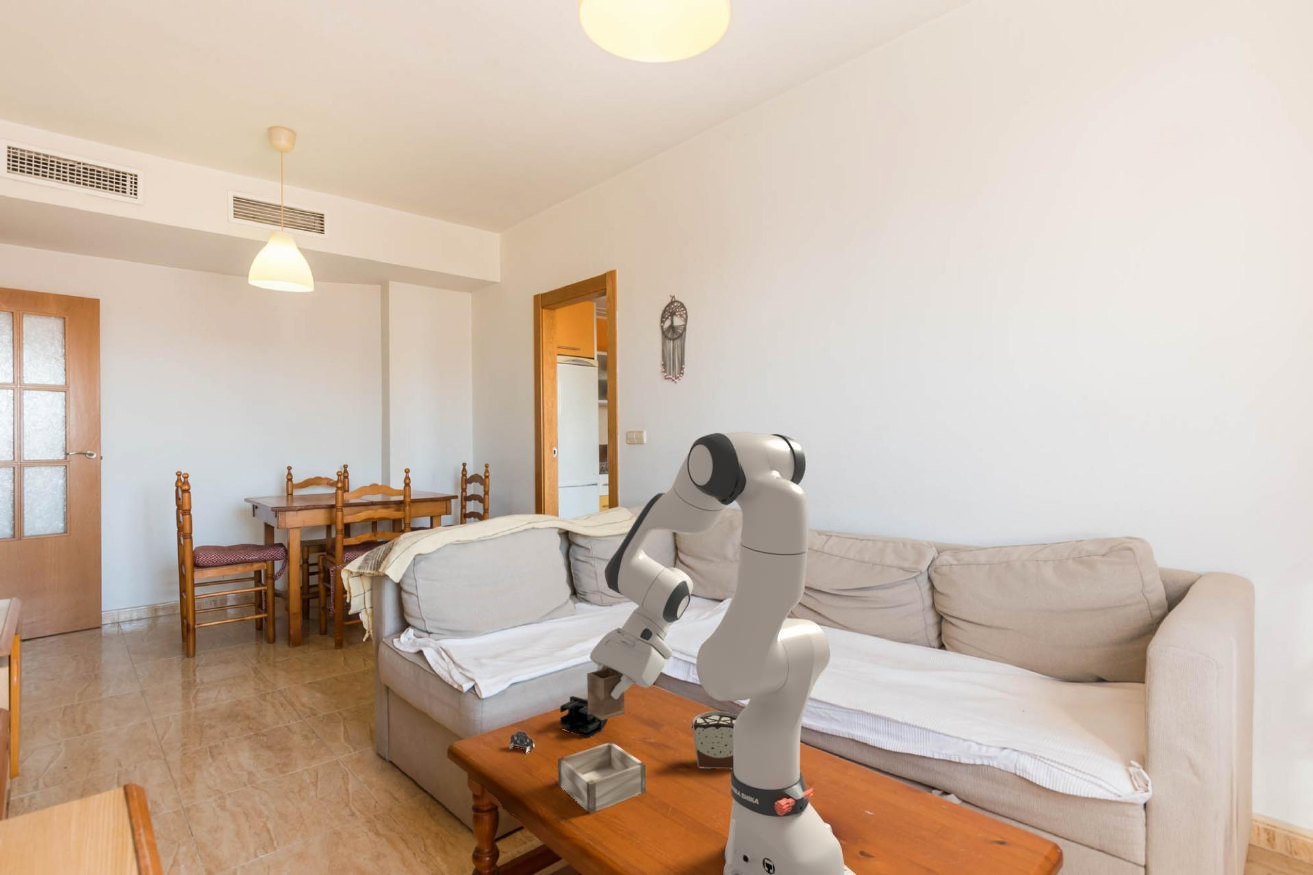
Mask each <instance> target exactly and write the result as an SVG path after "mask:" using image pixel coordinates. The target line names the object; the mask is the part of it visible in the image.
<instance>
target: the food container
mask: <svg viewBox="0 0 1313 875" xmlns="http://www.w3.org/2000/svg"><path fill="white" fill-rule="evenodd" d="M738 716H739V714H736V713H733V712H728V711H722V710H721V711H707V712H703V713H700V714H697V715H696V716H695V717H694V718H693V719H692V722H691V726H690V731H693V737H694V746H695V753H696V756H695V757H696V762H697V768H698V767H704V768H703V769H711V768H733V727H734V724H735V721H736V719H737V717H738Z"/></svg>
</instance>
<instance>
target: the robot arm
mask: <svg viewBox="0 0 1313 875" xmlns="http://www.w3.org/2000/svg"><path fill="white" fill-rule="evenodd" d="M806 467H807V466H806V456H805V452H804V450H803V448H802V446H801V445H800V444H799V443H798V441H797V440H795V439H793V438H792V437H789V436H786V435H784V434H783V435H782V434H780V433H779V434H778V433H775V434H774V433H772V434H767V433H757V432H750V431H736V432H735V431H734V432H727V433H725V432H724V433H721V432H715V433H711V434H706V435H704V436H701V437H699V438H697V439H696V440H694V442H693V443H692V444H691V447H690V449H689V452H688V453H687V454H686V457H685V459H684V460H683V462H682V464H681V466H680V469H678V472H677V475H676V477H675V479H674V482H673V485H672V487H671V488H670V489H669V490H668V491H667V492H659V493H657V494H655V495H654V496H653V497H652V498H651V499H650V500H649V501H648V502H647V503H646V505H645V506H644V507H643V509H642V510H641V512H640V513H639V515H638V516H637V517H636V519H635V521H634V522H633V524H632V526H631V528H630V529H629V531H628V532H627V534H626V536H625V537H624V539H623V541H622V543H621V544H620V545H619V547H618V548H617V550H616V552H615V553H614V554H613V555H611V557H610V558H609V560H608V562H607V564H606V567H605V569H604V573H603V574H604V577H605V582H606V584H607V587H608V589H610V590H611V591H613V592H615V593H617V594H619V595H621V596H623V597H625V598H627V599H628V600H630V601H632V603H635V604H636V605H637V606H638V607H636V608H635V609H634V610H633V611H632V612H631V614H630V615H629V617H627V619H626V621H625V623H624V624H623V626H622V627H621V628H620V627H617V628H616V629H613V630H611V631H610V632H608V633H606V634H605V635H604V636H603V637H602V638H601V639H600V640H599V642H598V643H597V644H596V645H595V647H594V648H593V649H592V650H591V652H590V656H589V659H590V660H591V661H592V662H593V663H594V664H595V665H596V666H597V668H596V671H599V670H603V669H607V668H610V669H613V670H615V671H617V672H619V673H621V674H623V676H622V678H621V682H620V683H618V684H617V685H616V686H615V687H614V686H612V688H611V690H610V691H609V695H610V696H611V697H612V698H614V699H618V698H619V696H620V695H621V693H623V692H624V693H625V691H627V690H628V689H630V688H631V686H633V683H634V684H635V685H638V686H639V687H642V688H644V689H648V688H649V687H651V686H652V685H653V684H654V683H655V682H656V681H657V679H658V677H659V676H660V674H661V672H662V671H663V669H664V668H665V664H666V660H669V659H670V658H671V657H672V656H673V653H674V652H673V650H672V649H671V647H670V646H669V645H668V644H667V643H666V642H665V641H664V639H665V638H666V637H667V635H668V632H669V629H670V627H671V626H672V625H673V624H674V623H675V622H677V621H679V620H680V619H681V618H682V616H683V614H684V612H685V611H686V610H687V608H688V606H689V604H690V602H691V594H692V592H693V589H694V582H693V580H692V579H691V577H690V576H689V575H688V574H687V573H686V572H684V571H683V570H681V569H679V568H677V567H672V566H671V567H670V566H669V567H665V566H663V565H662V564H660V563H659V562H658V561H657V560H656V561H655V560H654V559H653V558H651V557H649V555H647V554H646V552H645V551H644V547H645V546H646V545H647V543H648V541H649V540H650V538H651V537H652V535H653V533H654V532H655V531H668V532H673V533H676V534H681V535H689V536H690V535H691V536H693V535H700V534H704V533H707V532H709V531H711V530H712V529H713V528H715V527H716V526H717V525H718V524H719V523H720V522H719V521H720V520H721V519H722V516H723V515H724V514H725V511H726V510H727V506H728V505H731V504H732V503H733V502H734V501H735V502H736V503H737V505H738V506H739V508H740V510H741V515H742V524H741V533H740V542H739V543H740V544H739V556H738V565H737V566H738V567H737V573H736V581H735V587H734V592H733V594H732V598H731V599H730V602H729V604H728V607H727V610H726V612H724V613H725V614H724V616H723V617H722V619H721V622H720V623H719V624H718V625H717V627H716V628H715V630H714V631H713V633H711V635H709V637H708V638H707V639H706V640H705V641H704V642H703V643H702V644H701V645H700V647H699V649H698V652H697V655H696V656H697V657H696V660H695V661H696V663H695V667H696V675H697V678H698V681H699V683H700V685H701V686H702V688H703V689H704V690H705V692H706V693H707V694H708V695H709V696H710V697H711V698H713V699H714V700H716V701H719V702H721V701H722V702H725V701H727V702H728V701H729V702H730V701H731V702H734V701H735V702H736V701H747V700H748V702H747V704H746V706H745V707H744V708H743V710H741V712H740V713H739V714H738V715H739V716H738V717H737V719H736V721H735V724H734V727H733V768H732V769H730V770H731V771H730V780H729V781H730V783H729V784H730V793H731V796H732V806H731V807H732V808H731V813H730V820H729V822H730V823H729V832H728V838H727V842H726V846H725V850H724V860H725V865H724V866H723V875H857V874H856V873H855V872H854V871H852V870H851V869H850V868H849V867H848V866H847V865H846V864H845V860H844V855H843V850H842V846H841V843H840V842H839V840H838V838H837V837H836V836H835V835H834V834H833V828H832V826H831V825H830V824H829V823H827V822H824V820H823V819H822V817H821V816H820V815H819V814H818V812H817V811H816V810H815V809H814V807H813V806H812V805H811V802H810V798H811V797H812V796H814V793H813V791H814V788H812V787H811V788H810V789H808V790H807V787H806V784H805V781H804V777H803V773H802V772H801V771H800V770H801V769H800V768H801V767H800V766H801V730H802V724H803V720H804V715H805V712H806V708H807V705H808V702H809V699H810V696H811V694H812V691H813V688H814V686H815V685H816V682H817V681H818V679H819V678H820V676H821V675H822V673H823V672H825V670H826V668H827V667H828V665H829V663H830V658H831V648H830V643H829V639H828V638H827V635H826V633H825V632H824V630H823V629H822V628H821V627H820V626H819V624H817V623H816V622H814V621H813V620H811V619H804V618H792V617H791V618H787V617H788V616H789V614H790V613H791V611H792V610H794V608H796V606H797V605H799V603H800V602H801V600H802V599H803V596H804V593H805V587H806V586H805V585H806V576H807V566H808V565H807V564H808V552H809V539H810V538H809V532H810V528H809V527H810V526H809V525H810V524H809V523H810V522H809V510H808V509H809V508H808V500H807V496H806V492H805V491H804V489H803V488H802V487H801V486H800V485H799V484H800V483H801V482H802V480H803V478H804V476H805V473H806Z"/></svg>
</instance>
